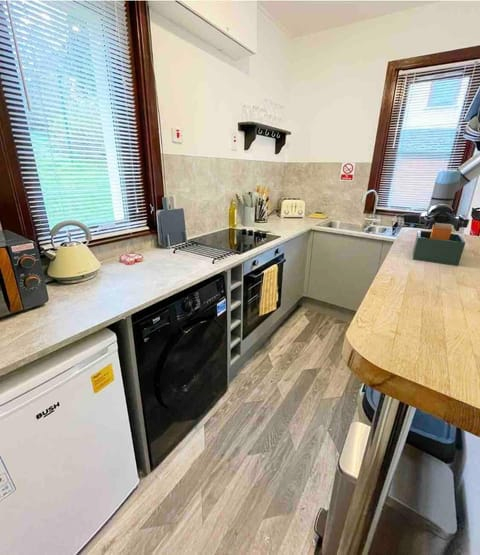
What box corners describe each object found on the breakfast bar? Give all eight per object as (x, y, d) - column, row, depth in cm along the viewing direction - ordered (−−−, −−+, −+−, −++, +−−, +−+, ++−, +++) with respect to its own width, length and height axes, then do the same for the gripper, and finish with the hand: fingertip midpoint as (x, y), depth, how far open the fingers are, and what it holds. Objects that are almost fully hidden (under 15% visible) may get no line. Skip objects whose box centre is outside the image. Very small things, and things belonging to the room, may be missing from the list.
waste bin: (454, 255, 97) (460, 234, 94) (458, 265, 87) (465, 242, 84) (413, 250, 103) (418, 230, 100) (412, 259, 93) (418, 237, 90)
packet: (442, 255, 95) (451, 223, 91) (443, 258, 92) (453, 225, 88) (425, 253, 98) (434, 222, 93) (425, 256, 95) (434, 224, 90)
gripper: (468, 227, 102) (479, 241, 83) (408, 221, 111) (407, 233, 93) (475, 206, 99) (488, 216, 80) (413, 203, 108) (412, 211, 90)
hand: (444, 225), depth 87 cm, fingers open, 6 cm apart
